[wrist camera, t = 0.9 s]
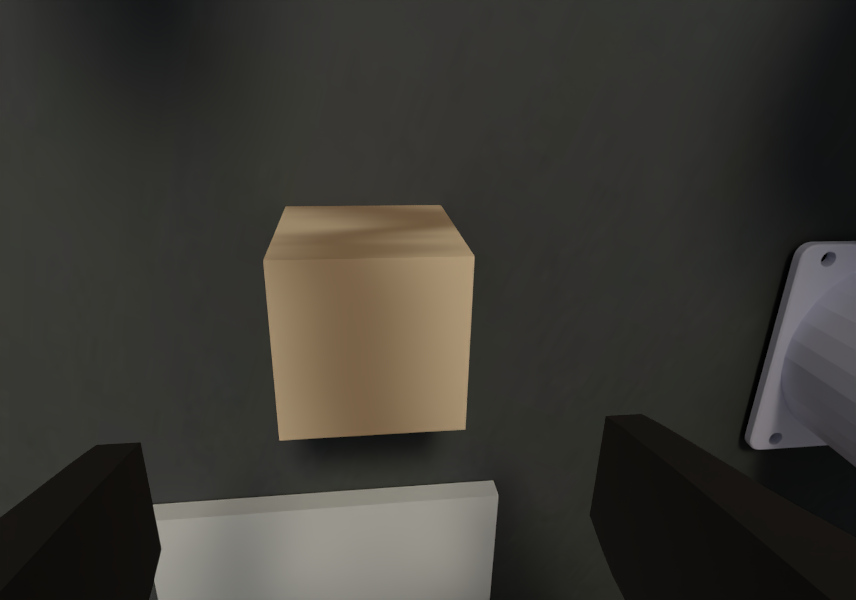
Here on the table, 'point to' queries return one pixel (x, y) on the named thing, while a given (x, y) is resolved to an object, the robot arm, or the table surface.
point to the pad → (332, 545)
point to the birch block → (368, 320)
